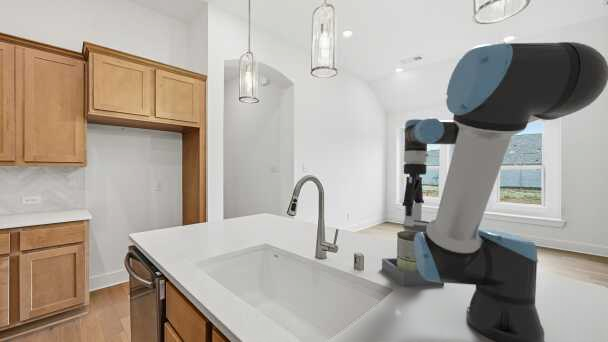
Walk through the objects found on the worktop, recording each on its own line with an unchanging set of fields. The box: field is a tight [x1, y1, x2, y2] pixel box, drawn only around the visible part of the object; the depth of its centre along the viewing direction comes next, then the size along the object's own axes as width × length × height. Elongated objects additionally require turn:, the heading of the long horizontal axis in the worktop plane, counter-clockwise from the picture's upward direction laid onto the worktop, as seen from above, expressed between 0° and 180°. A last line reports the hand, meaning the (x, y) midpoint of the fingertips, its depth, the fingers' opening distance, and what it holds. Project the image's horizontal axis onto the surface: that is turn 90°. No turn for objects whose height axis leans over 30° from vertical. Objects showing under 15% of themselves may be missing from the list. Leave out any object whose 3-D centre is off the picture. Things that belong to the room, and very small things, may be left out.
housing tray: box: [381, 257, 445, 287], centre depth 96 cm, size 15×15×4 cm
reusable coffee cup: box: [402, 220, 430, 233], centre depth 118 cm, size 13×13×15 cm
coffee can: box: [396, 230, 419, 273], centre depth 95 cm, size 10×10×14 cm
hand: (413, 222), depth 95 cm, fingers open, 13 cm apart
